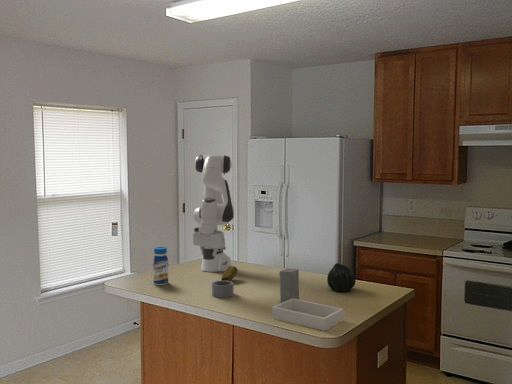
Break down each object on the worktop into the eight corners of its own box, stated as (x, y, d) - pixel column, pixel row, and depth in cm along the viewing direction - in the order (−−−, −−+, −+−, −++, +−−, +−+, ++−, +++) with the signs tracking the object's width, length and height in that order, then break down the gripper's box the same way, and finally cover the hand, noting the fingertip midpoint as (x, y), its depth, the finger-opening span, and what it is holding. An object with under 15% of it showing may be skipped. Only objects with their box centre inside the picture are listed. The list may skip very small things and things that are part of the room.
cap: (208, 257, 263) (208, 247, 263) (216, 258, 259) (216, 248, 259) (200, 258, 258) (200, 248, 258) (208, 260, 254) (209, 249, 254)
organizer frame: (292, 308, 227) (292, 298, 226) (343, 320, 211) (343, 308, 210) (272, 318, 214) (272, 306, 214) (324, 330, 198) (324, 318, 198)
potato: (215, 282, 274) (215, 268, 274) (231, 278, 284) (231, 264, 283) (225, 285, 269) (225, 270, 268) (241, 280, 278) (241, 266, 278)
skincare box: (291, 305, 232) (292, 272, 230) (278, 303, 235) (278, 270, 234) (300, 301, 239) (300, 269, 238) (287, 298, 243) (287, 267, 241)
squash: (365, 280, 256) (348, 256, 262) (349, 287, 245) (332, 262, 251) (348, 294, 264) (332, 270, 270) (332, 301, 254) (316, 277, 259)
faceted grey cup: (221, 290, 258) (221, 279, 257) (238, 294, 251) (237, 282, 250) (207, 295, 249) (207, 283, 248) (223, 299, 242) (223, 287, 242)
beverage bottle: (170, 281, 276) (169, 246, 275) (166, 285, 268) (165, 249, 266) (155, 281, 277) (155, 246, 275) (151, 285, 268) (150, 249, 267)
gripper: (227, 230, 254) (227, 257, 255) (199, 227, 267) (199, 252, 267) (219, 231, 249) (219, 258, 250) (191, 228, 262) (191, 254, 262)
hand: (208, 255), depth 259 cm, fingers closed on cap, 6 cm apart
